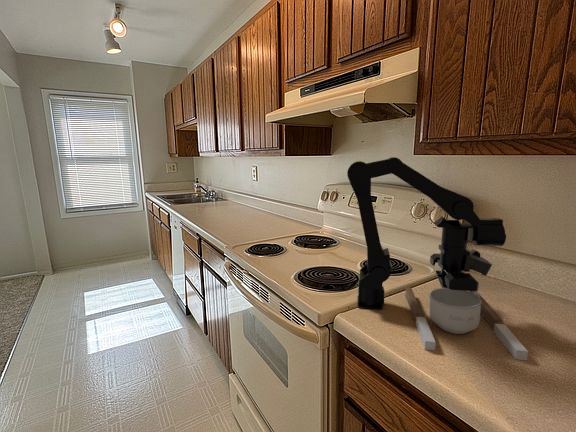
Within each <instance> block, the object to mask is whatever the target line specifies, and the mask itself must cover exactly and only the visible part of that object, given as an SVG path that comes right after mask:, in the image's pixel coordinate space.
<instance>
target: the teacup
mask: <svg viewBox="0 0 576 432" xmlns="http://www.w3.org/2000/svg"><path fill="white" fill-rule="evenodd" d="M479 294H480V293H479V292H478V291H461V290H451V289H449V288H442V287H438V288H434V289H432V290H431V291H429V293H428V296H429V315H430V319H431V320H432V321H433V323H434V324H435V325H437V326H438V327H439V328H440V329H442V330H443V331H445V332H447V333H451V334H456V335H461V334H463V335H464V334H466V333H469V332H471V331H473V330H475V329H476V328H478V327H479V324H480V319H481V312H480V310H481V303H482V301H481V299H480V295H481V294H480V295H479Z"/></svg>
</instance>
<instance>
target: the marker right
mask: <svg viewBox="0 0 576 432" xmlns="http://www.w3.org/2000/svg"><path fill="white" fill-rule="evenodd" d="M493 332H494V334H495V335H496V336H497V337H498V339H499V340H500V341H501V342H502V344H503V345H504V347H505V348H506V349H507V350H508V352H509V353H510V354H511V355H512V357H513V358H514V359H515V360H520V361H528V355H529V350H527V348H526V347H525V346H524V345H523V344H522V343H521V342H520V340H519V339H518V338H517V337H516V335H514V333H513V332H512V331H511V330H510V329H509V328H508V326H506V324H503V323H502V324H495V325H494V328H493Z"/></svg>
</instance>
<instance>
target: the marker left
mask: <svg viewBox="0 0 576 432" xmlns="http://www.w3.org/2000/svg"><path fill="white" fill-rule="evenodd" d="M415 327H416V329H417V332H418V335H419V337H420V340H421V343H422V346H423V348H424V350H425V351H426V350H428V351H436V343H437V342H436V340H435V337H434V335H433V332H432V330H431V328H430V326H429V324H428V321H427V319H426V317H423V316H422V317H416V322H415Z"/></svg>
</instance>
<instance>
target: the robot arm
mask: <svg viewBox="0 0 576 432" xmlns="http://www.w3.org/2000/svg"><path fill="white" fill-rule="evenodd" d="M346 173H347V179H348V180H349V184H350V186H351V189H352V191H353V192H354V195H355V197H356V199H357V200H356V201H357V205H358V210H359V214H360V220H361V225H362V229H363V235H364V238H365V239H364V240H365V245H366V258H367V259H366V260H367V261H366V264H364V266H363V267H361V268H359V279H358V285H357V287H358V288H357V289H358V290H357V293H358V294H357V307H358V308H361V309H370V310H371V309H372V310H373V309H374V310H383V309H384V308H383V305H384V304H385V293H386V292H385V287H384V286H383V283H384V282H386V281H387V280H388V279H389V278H390V277H391V271H393V269H394V268H393V265H392V261H391V255H390V251H389V248H388V247H387V248H383V246H382V244H381V240H380V236H379V235H380V234H379V230H378V229H379V228H378V224H377V220H376V215H375V210H374V206H373V200H372V179H374V178H379V177H382V176H387V175H391V174H392V175H394V176H396V178H399V179H400V180H402V181H403V182H405V183H406V184H408V185H409V186H411V187H412V188H414V189H415V190H417V191H419V192H420V193H422V194H424V195H425V196H426V197H427V198H429V199H430V200H431V201H432V202H434V204H436V206H437V207H438V208H440V210H441V211H442V212H444V213H445V214H446V215H448V216H449V217H451V218H452V219H446V218H445V217H444V216H440V217H439V218H438V219H437V220H435V221H434V222H433V224H434V225H435V226H436V228H442V232H441V241H440V242H441V243H440V244H438V250H440V253H433V254H431V255H430V256H429V257H430V259H429V264H431V266H433V267H434V266H436V264H437V267H438V270H435V274H436V277H437V279H438V281H439V284H440V288H449V289H451V290H461V291H468V292H469V291H477V292H478V291H479V285H480V283H479V282H478V280H477V279H475V277H474V276H472V274H471V273H470V272H471V271H474V272H476V273H479V274H481V275H482V276H487V275H488V274H489V271H490V270H491V268H492V266H493V264H492V263H491V262H490V261H488V260H487V259H486V258H484V257H482V256H481V252H479V251H478V250H476V249H471V250H470V251H469V250H468V249H467V247H468V240H469V241H470V242H472V244H473V245H475V246H486V247H487V246H488V247H490V246H491V247H503V246H504V245H505V243H506V240H507V234H506V229H505V226H504V219H502V218H500V217H492V218H479V216H478V215H477V213H476V212H475V211H474V207H475V206H474V202H473V201H472V200H471V199H470V197H467V196H464V195H462V194H460V193H457V192H455V191H452V190H450V189H448V188H445V187H443V186H440V185H439V184H437V183H435V181H432V180H431V179H430V178H428V177H426V176H425V175H423V174H421V172H419V171H417V170H415V169H414V168H412V167H411V166H409V165H408V164H406V163H404V162H403V161H402V160H401V159H400V158H398V157H394V156H391V157H388V158H387V159H382V160H381V159H380V160H376V161H373V162H372V161H371V162H367V163H366V162H365V161H362V160H360V161H359V160H357V161H354V162H353V163H351V164H350V165H349V167H348V168H347V172H346ZM461 220H464V221H465V222H466V223H462V222H460V221H461Z"/></svg>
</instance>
